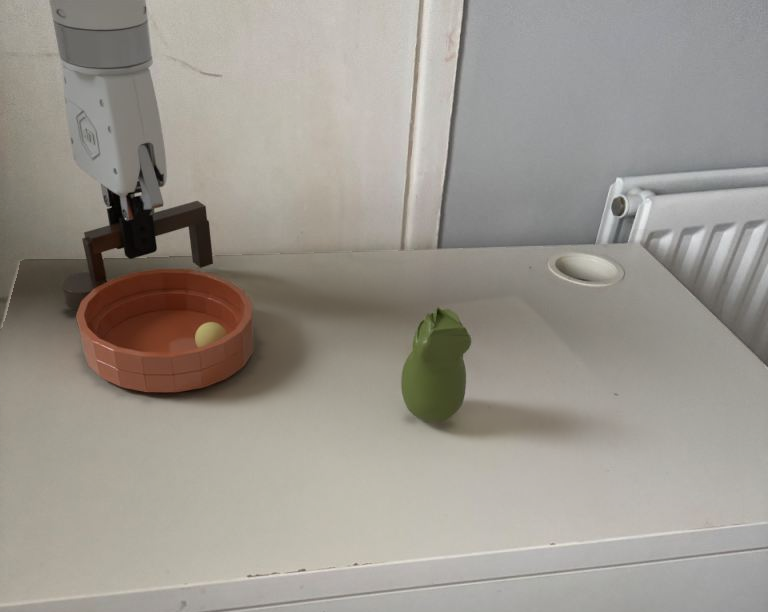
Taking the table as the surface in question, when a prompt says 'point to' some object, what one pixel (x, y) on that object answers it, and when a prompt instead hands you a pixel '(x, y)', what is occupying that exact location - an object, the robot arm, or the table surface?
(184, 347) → the bowl
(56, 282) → the table surface
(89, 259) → the ladle
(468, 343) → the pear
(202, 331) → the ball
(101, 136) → the robot arm
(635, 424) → the table surface
